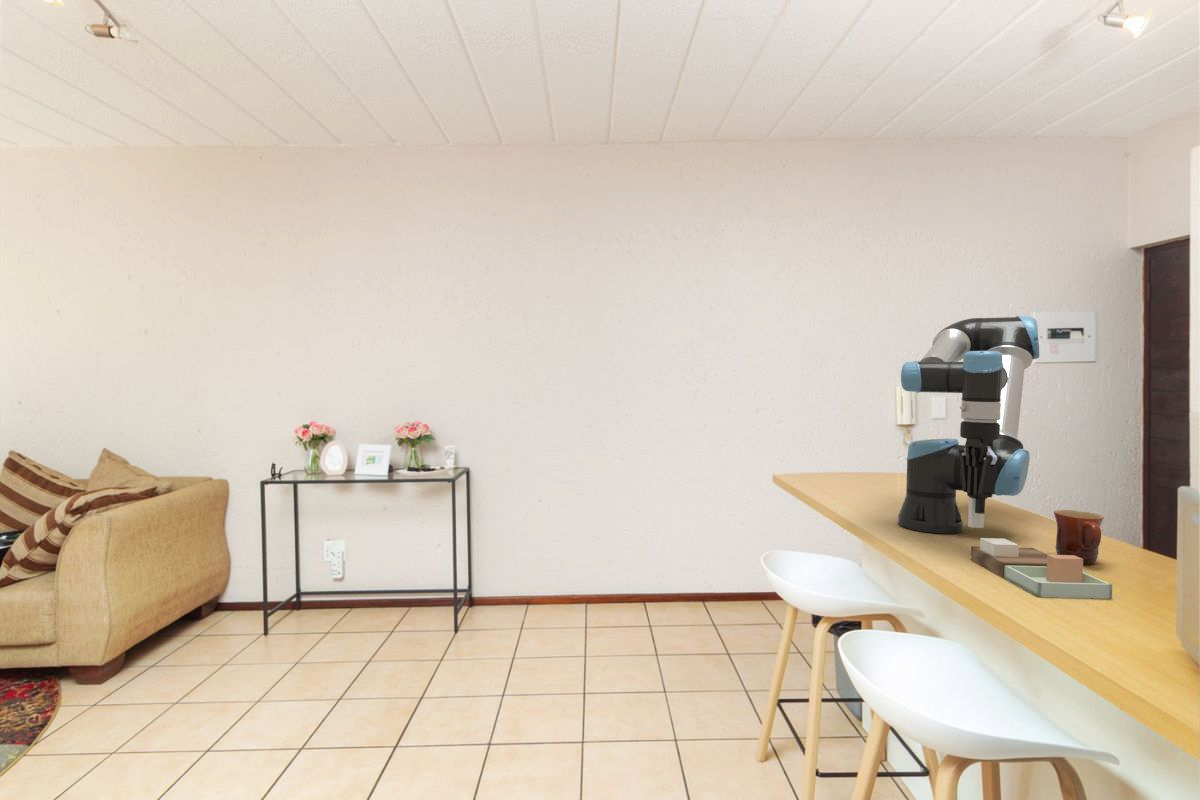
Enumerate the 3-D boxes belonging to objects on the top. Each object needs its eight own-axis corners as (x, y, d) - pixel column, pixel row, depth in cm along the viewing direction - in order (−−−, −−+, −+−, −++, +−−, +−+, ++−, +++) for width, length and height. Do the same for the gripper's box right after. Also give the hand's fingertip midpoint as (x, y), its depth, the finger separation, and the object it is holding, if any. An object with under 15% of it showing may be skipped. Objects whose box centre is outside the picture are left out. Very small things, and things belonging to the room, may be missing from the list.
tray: (1003, 578, 126) (1004, 565, 126) (1071, 580, 126) (1072, 567, 126) (1037, 596, 116) (1038, 582, 116) (1111, 599, 115) (1112, 584, 115)
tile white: (979, 549, 136) (980, 538, 136) (1004, 550, 136) (1004, 538, 135) (993, 556, 131) (993, 544, 131) (1018, 557, 131) (1018, 545, 130)
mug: (1044, 553, 144) (1046, 508, 144) (1087, 556, 142) (1090, 511, 142) (1071, 569, 132) (1074, 520, 132) (1120, 573, 131) (1122, 523, 130)
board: (970, 560, 138) (971, 546, 138) (1032, 561, 138) (1033, 547, 138) (1002, 577, 127) (1003, 562, 126) (1070, 579, 126) (1071, 564, 126)
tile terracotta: (1047, 554, 123) (1055, 558, 121) (1074, 555, 123) (1083, 559, 121) (1046, 580, 124) (1054, 584, 121) (1072, 580, 123) (1082, 585, 121)
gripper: (948, 418, 148) (944, 519, 148) (978, 422, 135) (974, 533, 135) (981, 419, 147) (977, 521, 148) (1015, 423, 134) (1010, 534, 135)
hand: (975, 526), depth 142 cm, fingers closed
